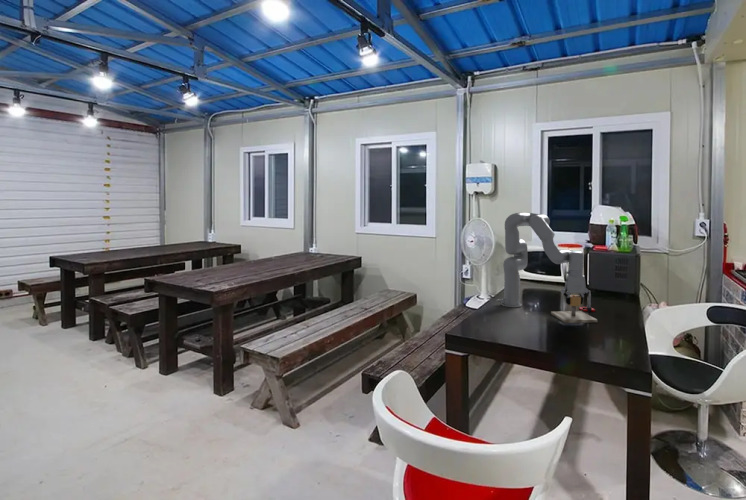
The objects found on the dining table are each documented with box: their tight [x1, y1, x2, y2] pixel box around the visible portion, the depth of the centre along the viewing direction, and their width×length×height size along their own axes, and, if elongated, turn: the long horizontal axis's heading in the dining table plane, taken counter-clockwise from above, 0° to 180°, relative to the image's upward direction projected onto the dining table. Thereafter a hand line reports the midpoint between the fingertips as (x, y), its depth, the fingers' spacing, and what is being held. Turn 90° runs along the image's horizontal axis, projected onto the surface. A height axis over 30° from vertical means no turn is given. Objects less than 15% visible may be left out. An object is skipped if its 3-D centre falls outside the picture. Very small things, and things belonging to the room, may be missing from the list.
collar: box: [569, 294, 582, 307], centre depth 242 cm, size 6×6×5 cm
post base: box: [550, 306, 598, 324], centre depth 243 cm, size 18×18×8 cm
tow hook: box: [578, 290, 596, 313], centre depth 260 cm, size 8×13×9 cm
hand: (574, 303), depth 242 cm, fingers closed on collar, 6 cm apart
